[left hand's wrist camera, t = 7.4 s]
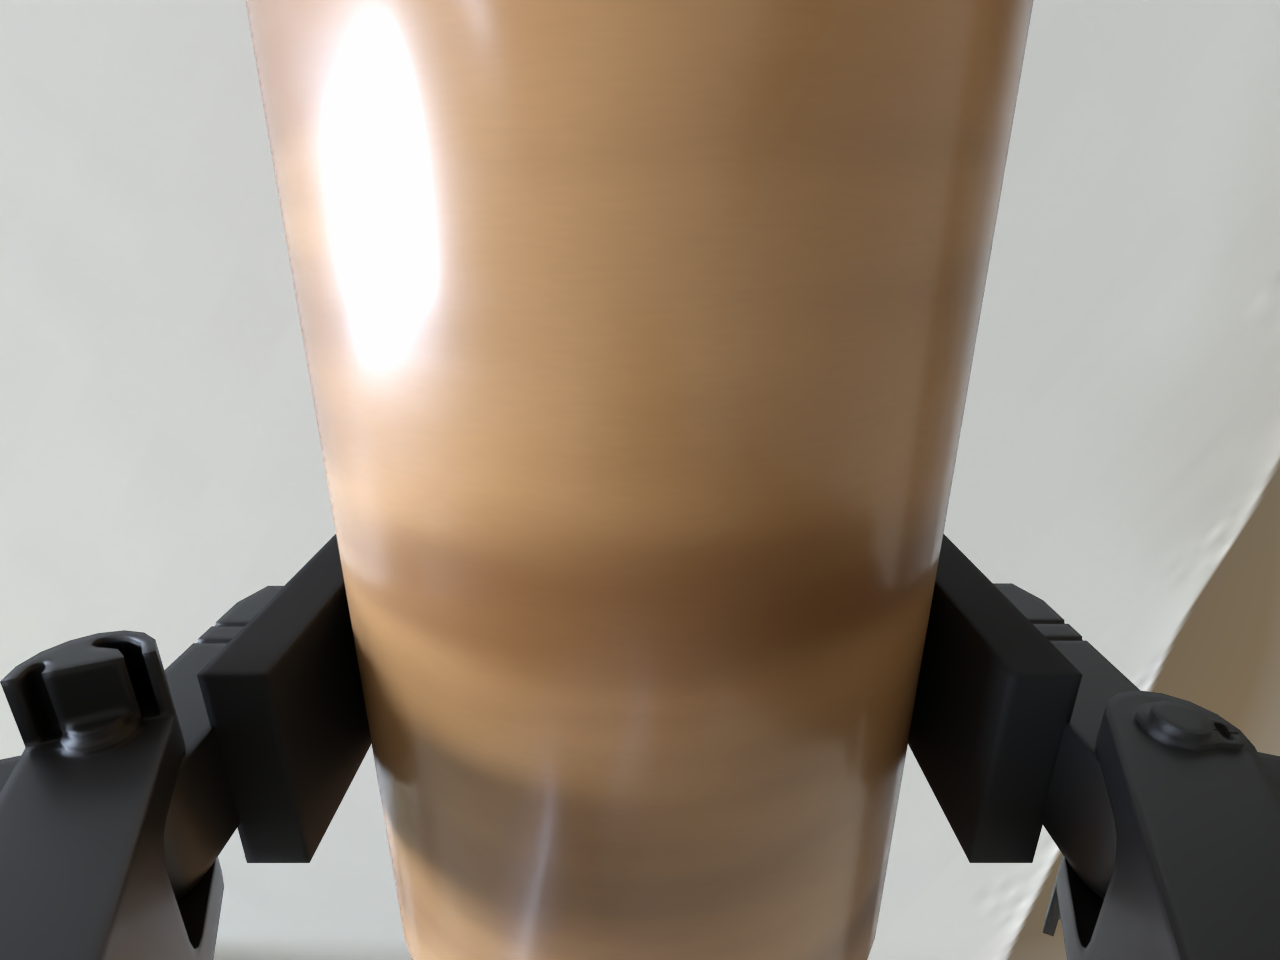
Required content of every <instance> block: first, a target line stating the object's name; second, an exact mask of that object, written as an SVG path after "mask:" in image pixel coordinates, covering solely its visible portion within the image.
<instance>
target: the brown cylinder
mask: <svg viewBox="0 0 1280 960" xmlns="http://www.w3.org/2000/svg"><path fill="white" fill-rule="evenodd" d="M246 5H247V11H248V17H249V23H250V29H251V35H252V41H253V47H254V52H255V58H256V64H257V70H258V76H259V82H260V88H261V94H262V100H263V106H264V111H265V117H266V123H267V129H268V135H269V141H270V147H271V153H272V159H273V164H274V170H275V176H276V182H277V188H278V194H279V200H280V206H281V212H282V218H283V223H284V229H285V235H286V241H287V247H288V253H289V259H290V265H291V271H292V276H293V282H294V288H295V294H296V300H297V306H298V312H299V318H300V324H301V330H302V335H303V341H304V347H305V353H306V359H307V365H308V371H309V377H310V383H311V388H312V394H313V400H314V406H315V412H316V418H317V424H318V430H319V436H320V442H321V447H322V453H323V459H324V465H325V471H326V477H327V483H328V489H329V495H330V500H331V506H332V512H333V518H334V524H335V530H336V536H337V542H338V548H339V554H340V559H341V565H342V571H343V577H344V583H345V589H346V595H347V601H348V607H349V612H350V618H351V624H352V630H353V636H354V642H355V648H356V654H357V660H358V666H359V671H360V677H361V683H362V689H363V695H364V701H365V707H366V713H367V719H368V724H369V730H370V736H371V742H372V748H373V754H374V760H375V766H376V772H377V778H378V783H379V789H380V795H381V801H382V807H383V813H384V819H385V825H386V831H387V836H388V842H389V848H390V854H391V860H392V866H393V872H394V878H395V884H396V890H397V895H398V901H399V907H400V913H401V919H402V925H403V930H404V936H405V940H406V943H407V946H408V949H409V951H410V954H411V957H412V960H867V958H868V956H869V953H870V950H871V947H872V944H873V942H874V939H875V933H876V927H877V922H878V916H879V910H880V904H881V899H882V893H883V887H884V881H885V875H886V869H887V863H888V857H889V851H890V845H891V839H892V834H893V828H894V822H895V816H896V810H897V804H898V798H899V792H900V786H901V780H902V774H903V768H904V763H905V757H906V751H907V745H908V739H909V733H910V727H911V721H912V715H913V709H914V703H915V698H916V692H917V686H918V680H919V674H920V668H921V662H922V656H923V650H924V644H925V638H926V632H927V627H928V621H929V615H930V609H931V603H932V597H933V591H934V585H935V579H936V573H937V567H938V562H939V556H940V550H941V544H942V538H943V532H944V526H945V520H946V514H947V508H948V502H949V496H950V491H951V485H952V479H953V473H954V467H955V461H956V455H957V449H958V443H959V437H960V431H961V426H962V420H963V414H964V408H965V402H966V396H967V390H968V384H969V378H970V372H971V366H972V360H973V355H974V349H975V343H976V337H977V331H978V325H979V319H980V313H981V307H982V301H983V295H984V290H985V284H986V278H987V272H988V266H989V260H990V254H991V248H992V242H993V236H994V230H995V224H996V219H997V213H998V207H999V201H1000V195H1001V189H1002V183H1003V177H1004V171H1005V165H1006V159H1007V154H1008V148H1009V142H1010V136H1011V130H1012V124H1013V118H1014V112H1015V106H1016V100H1017V94H1018V88H1019V83H1020V77H1021V71H1022V65H1023V59H1024V53H1025V47H1026V41H1027V35H1028V29H1029V23H1030V18H1031V12H1032V6H1033V0H246Z"/></svg>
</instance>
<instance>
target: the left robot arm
mask: <svg viewBox="0 0 1280 960" xmlns="http://www.w3.org/2000/svg"><path fill="white" fill-rule="evenodd" d="M0 682H1V685H2V688H3V690H4V693H5V695H6V698H7V700H8V703H9V706H10V708H11V711H12V713H13V716H14V718H15V721H16V724H17V726H18V729H19V731H20V734H21V736H22V739H23V742H24V744H25V747H26V748H25V750H24V752H23V754H22V755H21V756H17V757H12V758H7V759H2V760H0V960H213V958H214V951H215V944H216V938H217V931H218V924H219V917H220V910H221V904H222V897H223V890H224V883H223V876H222V870H221V867H220V863H219V860H218V855H219V854H220V852H221V851H222V849H223V848H224V846H225V845H226V843H227V842H228V840H229V839H230V837H231V836H232V834H233V833H234V831H235V830H236V828H237V827H238V831H239V834H240V838H241V842H242V845H243V849H244V853H245V857H246V860H247V863H310V861H311V859H312V857H313V855H314V853H315V851H316V849H317V847H318V845H319V843H320V842H321V840H322V838H323V836H324V834H325V832H326V830H327V828H328V826H329V824H330V822H331V820H332V818H333V816H334V815H335V813H336V811H337V809H338V807H339V805H340V803H341V801H342V799H343V797H344V795H345V793H346V791H347V789H348V788H349V786H350V784H351V782H352V780H353V778H354V776H355V774H356V772H357V770H358V768H359V766H360V764H361V763H362V761H363V759H364V757H365V755H366V753H367V751H368V749H369V747H370V745H371V743H372V742H371V736H370V730H369V724H368V719H367V713H366V707H365V701H364V695H363V689H362V683H361V677H360V671H359V666H358V660H357V654H356V648H355V642H354V636H353V630H352V624H351V618H350V612H349V607H348V601H347V595H346V589H345V583H344V577H343V571H342V565H341V559H340V554H339V548H338V542H337V536H336V534H335V535H334V536H333V537H332V538H331V539H330V540H329V541H328V542H327V543H326V544H325V545H324V547H323V548H322V549H321V550H320V551H319V552H318V553H317V554H316V555H315V556H314V557H313V558H312V559H311V560H310V561H309V562H308V563H307V564H306V565H305V566H304V567H303V568H302V569H301V570H300V571H299V572H298V573H297V574H296V575H295V576H294V577H293V578H292V579H291V580H290V581H289V582H288V583H287V584H286V585H285V586H267V587H265V588H263V589H262V590H260V591H258V592H256V593H254V594H252V595H251V596H249V597H247V598H245V599H243V600H241V601H239V602H238V603H236V604H235V605H234V606H233V607H232V608H231V609H230V610H229V611H228V612H227V613H226V614H224V615H223V616H222V617H221V618H220V619H219V620H218V621H217V622H216V626H215V627H211V628H210V629H208V630H207V631H206V632H205V633H204V634H203V635H202V636H201V637H200V638H199V639H198V643H193V644H192V645H191V646H190V647H189V648H188V649H187V650H186V651H185V652H184V653H183V654H182V655H181V656H180V657H178V658H177V659H176V660H175V661H174V662H173V663H172V664H171V665H170V666H169V667H168V668H167V669H166V670H165V671H164V668H163V665H162V661H161V658H160V655H159V651H158V648H157V644H156V641H155V639H153V638H152V637H150V636H148V635H147V634H145V633H142V632H133V631H116V632H106V633H98V634H94V635H90V636H86V637H82V638H78V639H74V640H70V641H68V642H65V643H63V644H60V645H58V646H55V647H53V648H50V649H48V650H45V651H42V652H40V653H38V654H37V655H35V656H33V657H32V658H30V659H28V660H26V661H25V662H23V663H21V664H20V665H18V666H16V667H15V668H14V669H13V670H12V671H11V672H10V673H9V674H8V675H7V676H6V677H5V678H4V679H2V680H1V681H0ZM908 744H909V746H910V748H911V750H912V752H913V754H914V756H915V758H916V760H917V762H918V763H919V765H920V767H921V769H922V771H923V773H924V775H925V777H926V779H927V781H928V783H929V785H930V787H931V788H932V790H933V792H934V794H935V796H936V798H937V800H938V802H939V804H940V806H941V808H942V810H943V812H944V814H945V815H946V817H947V819H948V821H949V823H950V825H951V827H952V829H953V831H954V833H955V835H956V837H957V839H958V841H959V842H960V844H961V846H962V848H963V850H964V852H965V854H966V856H967V858H968V860H969V862H970V863H1032V862H1033V858H1034V855H1035V851H1036V847H1037V843H1038V840H1039V836H1040V832H1041V828H1042V825H1044V827H1045V828H1046V830H1047V831H1048V833H1049V834H1050V836H1051V837H1052V839H1053V840H1054V842H1055V843H1056V845H1057V846H1058V848H1059V849H1060V851H1061V852H1062V854H1063V856H1062V860H1061V863H1060V867H1059V870H1058V874H1057V877H1056V881H1055V884H1054V888H1053V891H1052V895H1051V898H1050V901H1049V905H1048V909H1047V912H1046V915H1045V920H1044V927H1043V933H1045V934H1048V935H1051V936H1054V933H1055V929H1056V926H1057V922H1058V920H1059V919H1061V922H1062V929H1063V936H1064V942H1065V949H1066V956H1067V960H1280V756H1275V755H1270V754H1265V753H1260V752H1257V750H1256V749H1255V747H1254V746H1253V745H1252V743H1251V742H1250V741H1249V740H1248V739H1247V738H1246V737H1245V735H1244V734H1243V733H1242V732H1241V731H1240V730H1239V729H1237V728H1236V727H1235V726H1233V725H1232V724H1230V723H1229V722H1227V721H1226V720H1224V719H1223V718H1222V717H1220V716H1219V715H1217V714H1215V713H1213V712H1211V711H1209V710H1207V709H1204V708H1202V707H1200V706H1198V705H1196V704H1194V703H1192V702H1189V701H1186V700H1182V699H1179V698H1175V697H1172V696H1169V695H1166V694H1162V693H1154V692H1146V691H1140V690H1139V689H1138V688H1137V687H1136V686H1135V685H1134V684H1133V683H1132V682H1131V681H1129V680H1128V679H1127V678H1126V677H1125V676H1124V675H1123V674H1122V673H1121V672H1120V671H1119V670H1118V669H1117V668H1115V667H1114V666H1113V665H1112V664H1111V663H1110V662H1109V661H1108V660H1107V659H1106V658H1105V657H1104V656H1102V655H1101V654H1100V653H1099V652H1098V651H1097V650H1096V649H1095V648H1094V647H1093V646H1092V645H1091V644H1090V643H1088V642H1087V641H1083V640H1082V636H1081V635H1080V634H1079V633H1078V632H1077V631H1076V630H1074V629H1073V628H1072V627H1071V626H1070V625H1069V624H1065V623H1064V619H1063V618H1061V617H1060V616H1059V615H1058V614H1057V613H1056V612H1055V611H1054V610H1053V609H1052V608H1051V607H1050V606H1049V605H1047V604H1046V603H1045V602H1044V601H1043V600H1041V599H1039V598H1038V597H1036V596H1034V595H1032V594H1030V593H1028V592H1026V591H1025V590H1023V589H1021V588H1019V587H1017V586H1015V585H1013V584H993V583H992V582H991V581H990V580H989V579H988V578H987V577H986V576H985V575H984V574H983V573H982V572H981V571H980V570H979V569H978V568H977V567H976V566H975V565H974V564H973V563H972V562H971V561H970V560H969V559H968V558H967V557H966V556H965V555H964V554H963V553H962V552H961V551H960V550H959V549H958V548H957V547H956V546H955V545H954V544H953V543H952V542H951V541H950V540H949V539H948V538H947V537H946V536H945V535H944V534H943V538H942V544H941V550H940V556H939V562H938V567H937V573H936V579H935V585H934V591H933V597H932V603H931V609H930V615H929V621H928V627H927V632H926V638H925V644H924V650H923V656H922V662H921V668H920V674H919V680H918V686H917V692H916V698H915V703H914V709H913V715H912V721H911V727H910V733H909V739H908Z"/></svg>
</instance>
